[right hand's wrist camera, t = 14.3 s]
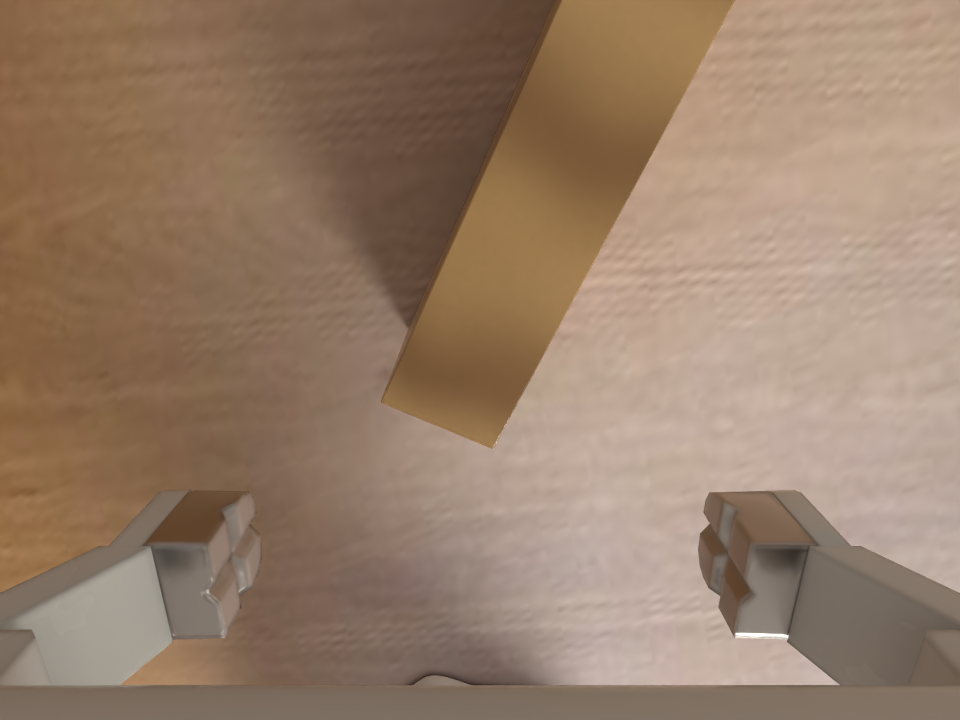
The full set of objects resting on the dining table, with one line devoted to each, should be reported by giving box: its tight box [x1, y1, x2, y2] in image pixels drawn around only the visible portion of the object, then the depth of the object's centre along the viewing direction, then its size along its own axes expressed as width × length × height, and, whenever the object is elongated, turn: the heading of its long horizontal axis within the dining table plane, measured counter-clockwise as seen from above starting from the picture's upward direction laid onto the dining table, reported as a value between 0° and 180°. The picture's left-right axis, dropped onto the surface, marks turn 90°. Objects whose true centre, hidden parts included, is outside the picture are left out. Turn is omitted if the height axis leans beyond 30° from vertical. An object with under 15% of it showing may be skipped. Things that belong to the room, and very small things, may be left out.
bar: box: [381, 0, 735, 449], centre depth 23 cm, size 22×5×9 cm, turn 155°
